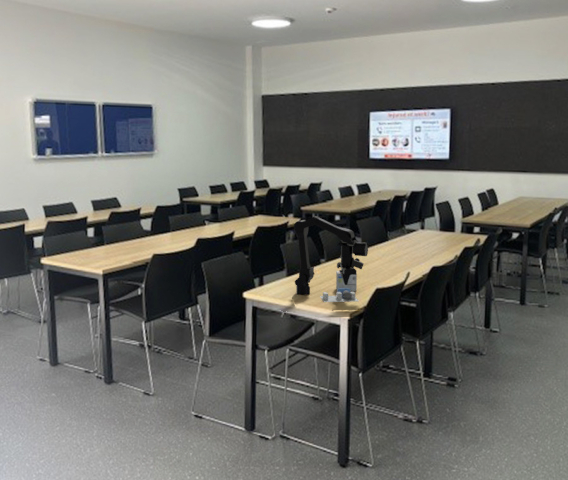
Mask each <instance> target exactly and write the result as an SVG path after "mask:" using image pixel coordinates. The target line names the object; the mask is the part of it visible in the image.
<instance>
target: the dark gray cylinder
mask: <svg viewBox="0 0 568 480" xmlns="http://www.w3.org/2000/svg"><path fill="white" fill-rule="evenodd" d="M342 294H343V296H344V297H345V299H347V300H350V299H351V298H352V295H351V294H350V293H349V292H348V291H347V290H345V291H343V293H342Z"/></svg>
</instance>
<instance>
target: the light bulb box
mask: <svg viewBox="0 0 568 480" xmlns="http://www.w3.org/2000/svg"><path fill="white" fill-rule="evenodd" d="M335 276H336V277H335V278H336V279H335V280H336V281H335V283H336V285H335V287H336V289H335V290H336V292H338V288H350V292H357V280H358V279H357V278H358V274H357V272H356V275H350V277H349V280H348V284H347V285H345V284H344V281H343V279H342V276H341V274H340V271H339V270H336V275H335Z"/></svg>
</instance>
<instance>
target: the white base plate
mask: <svg viewBox="0 0 568 480" xmlns="http://www.w3.org/2000/svg"><path fill="white" fill-rule="evenodd" d="M345 290H347V291H348V292H349V293H350V294H351V295H352V298H351V299H350V300H347V299H345V297H344V296H343V294H342V293H343V291H345ZM319 297H320V299H321V300H322V302H324V303H339V302H340V303H342V302H343V303H344V302H348V303H349V302H350V303H351V302H359V299H358V298H357V297H356V292H355V291H350V288H338V291H336V294H335V295H329V293H328V292H327V291H325V292H324V291H323V292H322V295H319Z"/></svg>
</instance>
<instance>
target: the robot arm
mask: <svg viewBox="0 0 568 480" xmlns="http://www.w3.org/2000/svg"><path fill="white" fill-rule="evenodd" d="M312 226H316V227H319V228H321V229H323V230H325V231H327V232H328V233H331V234H333V235H335V237H337V238H338V239H339V240H340V241H339V243H337V246H339V247H340V248H341V249H340V255H339V258H340V261H339V262H337V263H336V268H337V269H340V270H338V271H340V274H341V276H342V279H343V281H344V284H345V285H347V284H348V280H349V277H350V275H356V273H357V269H359V270H362V269H363V267H364V263H363V262H362V261H360V258H358V257H359V256H360V257H367V256H368V253H369V247H368V245H367V242H360V241H358V240H357V238H356V237H355V232H354V231H353V230H352V229H348V228H345V227H341V226H337V225H336V224H333V223H331V222H329V221H327V220H325V219H322V217H321V218H320V217H319V216H317V215H315V216H312V217H311V218H309V219H302V220H298V221H296V222H295V223H294V224H293V230H294V233H295V236H296V237H297V241H298V251H299V261H300V262H299V263H300V268H299V270H298V278H297V279H295V280H294V284H295V286H296V288H295V289H296V290H295V291H296V292H295V293H296V295H300V296H306V295H310V294H311V287H310V282H311V281H312V279H314V277H315V271H314V270H315V268H314V266H311V264H310V255H309V244H308V235H309V227H312ZM353 255H354V256H356V257H355V258H354V257H353ZM357 256H358V257H357ZM356 268H357V269H356Z"/></svg>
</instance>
